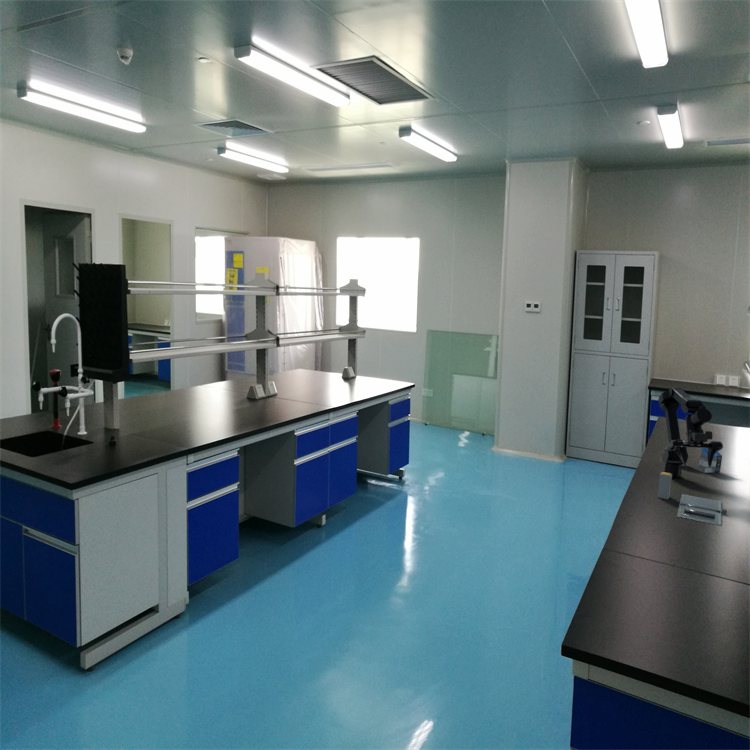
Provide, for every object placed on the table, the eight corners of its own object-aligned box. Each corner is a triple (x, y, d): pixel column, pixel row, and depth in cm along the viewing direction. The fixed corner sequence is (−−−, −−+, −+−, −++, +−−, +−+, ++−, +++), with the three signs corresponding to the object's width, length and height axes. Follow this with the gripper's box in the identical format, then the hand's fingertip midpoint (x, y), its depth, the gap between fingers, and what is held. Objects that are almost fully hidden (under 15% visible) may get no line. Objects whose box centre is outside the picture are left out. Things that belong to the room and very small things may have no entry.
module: (658, 494, 246) (661, 471, 244) (669, 496, 244) (672, 473, 242) (657, 497, 242) (659, 473, 241) (668, 499, 240) (671, 475, 239)
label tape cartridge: (704, 473, 278) (707, 447, 277) (697, 471, 282) (701, 445, 280) (720, 473, 281) (723, 446, 279) (713, 470, 285) (716, 444, 283)
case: (681, 495, 247) (682, 490, 246) (726, 503, 239) (726, 498, 239) (677, 516, 222) (677, 512, 222) (726, 526, 214) (727, 521, 214)
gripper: (675, 422, 246) (678, 460, 241) (725, 424, 243) (729, 463, 237) (667, 429, 256) (670, 466, 251) (716, 431, 253) (719, 469, 248)
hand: (697, 466), depth 247 cm, fingers open, 9 cm apart
